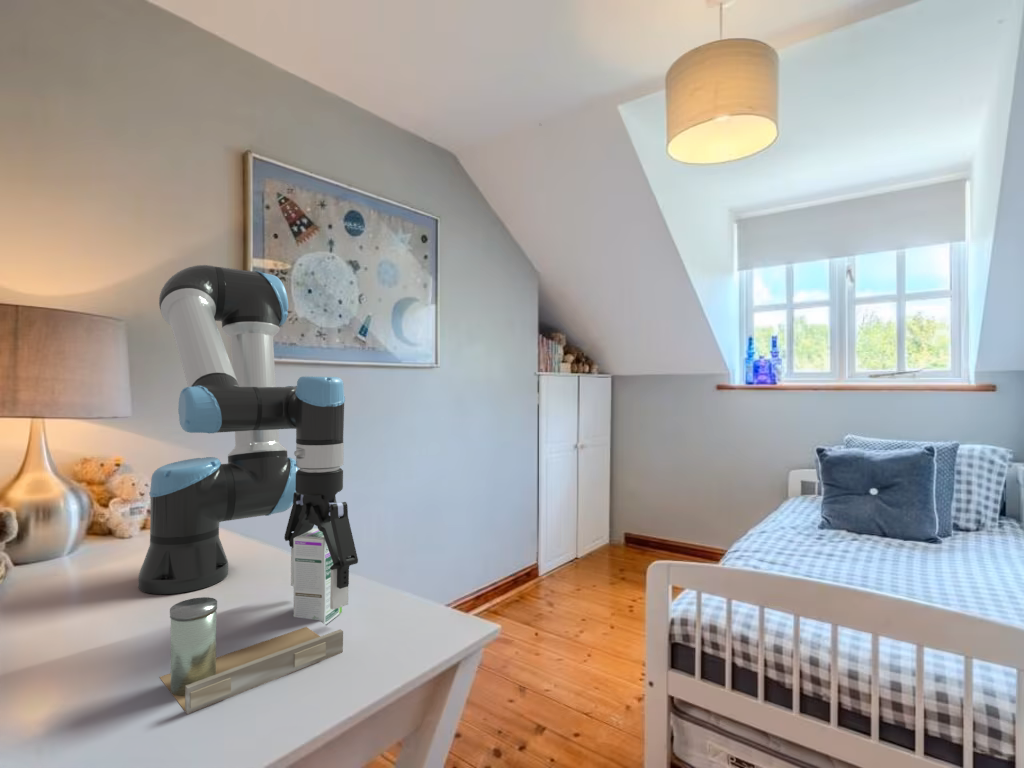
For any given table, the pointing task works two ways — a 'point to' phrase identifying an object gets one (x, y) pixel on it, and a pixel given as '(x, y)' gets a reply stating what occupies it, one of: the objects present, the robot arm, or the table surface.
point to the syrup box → (312, 577)
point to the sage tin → (192, 642)
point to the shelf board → (258, 666)
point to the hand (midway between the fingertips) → (318, 594)
